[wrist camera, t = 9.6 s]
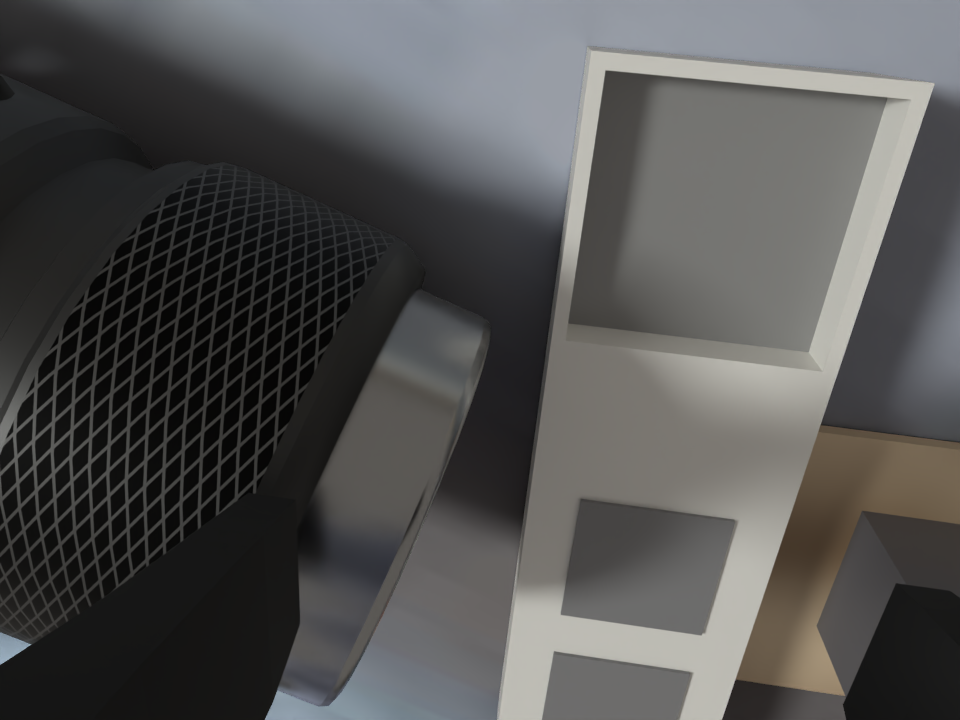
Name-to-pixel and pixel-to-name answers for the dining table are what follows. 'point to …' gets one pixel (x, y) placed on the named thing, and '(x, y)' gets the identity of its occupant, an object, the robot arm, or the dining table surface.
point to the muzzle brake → (209, 379)
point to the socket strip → (690, 366)
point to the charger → (883, 580)
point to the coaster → (840, 541)
